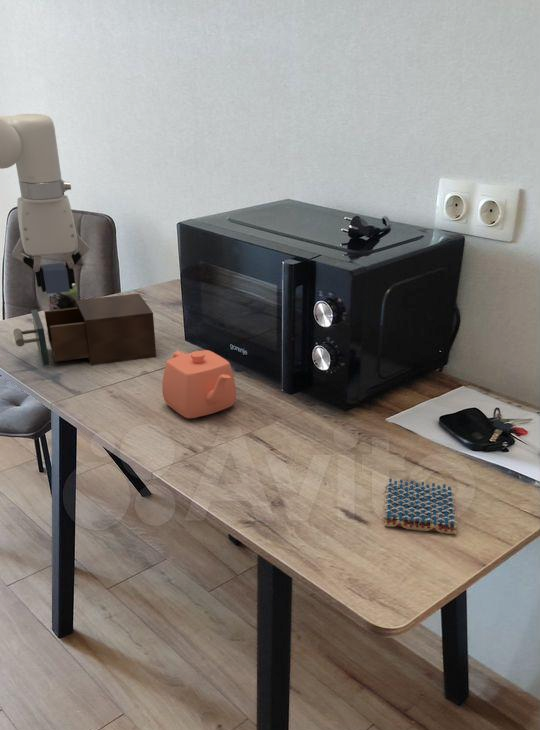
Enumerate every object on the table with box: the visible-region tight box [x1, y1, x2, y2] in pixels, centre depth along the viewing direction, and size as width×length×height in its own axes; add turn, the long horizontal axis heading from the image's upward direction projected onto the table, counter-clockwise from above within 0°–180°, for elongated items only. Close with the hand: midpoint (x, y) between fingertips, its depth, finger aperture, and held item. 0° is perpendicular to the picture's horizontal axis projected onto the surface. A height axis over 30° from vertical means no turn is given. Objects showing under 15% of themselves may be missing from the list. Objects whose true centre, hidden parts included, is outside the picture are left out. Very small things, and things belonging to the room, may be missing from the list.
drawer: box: [12, 307, 89, 367], centre depth 144 cm, size 17×11×8 cm
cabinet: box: [76, 293, 157, 366], centre depth 148 cm, size 14×13×10 cm
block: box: [40, 262, 70, 295], centre depth 137 cm, size 4×4×4 cm
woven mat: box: [382, 478, 459, 536], centre depth 102 cm, size 10×11×2 cm
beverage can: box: [48, 282, 79, 310], centre depth 154 cm, size 6×7×12 cm
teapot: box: [161, 349, 237, 419], centre depth 126 cm, size 12×18×10 cm, turn 37°
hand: (56, 287), depth 138 cm, fingers closed on block, 4 cm apart
